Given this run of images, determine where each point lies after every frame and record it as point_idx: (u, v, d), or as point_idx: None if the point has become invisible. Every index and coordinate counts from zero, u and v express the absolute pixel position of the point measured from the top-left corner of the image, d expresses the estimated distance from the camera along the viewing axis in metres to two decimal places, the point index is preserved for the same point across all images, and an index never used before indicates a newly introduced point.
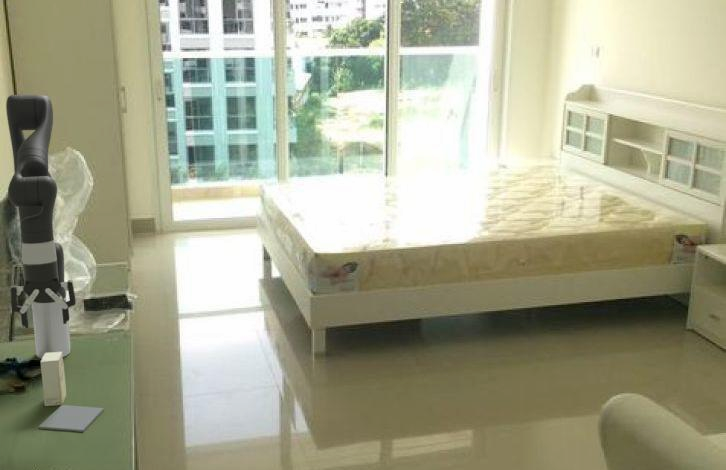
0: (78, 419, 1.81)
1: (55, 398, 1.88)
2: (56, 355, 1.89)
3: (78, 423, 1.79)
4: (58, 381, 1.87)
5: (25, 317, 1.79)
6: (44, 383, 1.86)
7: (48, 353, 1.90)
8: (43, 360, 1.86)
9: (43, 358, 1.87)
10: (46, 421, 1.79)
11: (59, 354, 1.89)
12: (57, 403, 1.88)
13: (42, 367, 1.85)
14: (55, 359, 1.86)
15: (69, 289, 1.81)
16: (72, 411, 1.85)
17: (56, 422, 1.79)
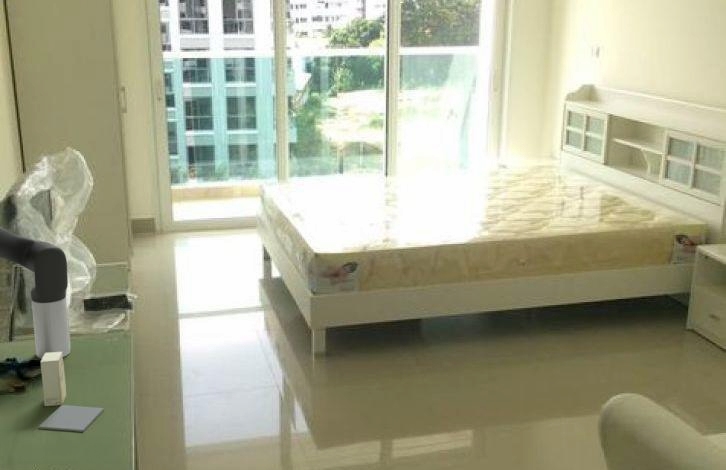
0: (78, 419, 1.81)
1: (55, 398, 1.88)
2: (56, 355, 1.89)
3: (78, 423, 1.79)
4: (58, 381, 1.87)
5: None
6: (44, 383, 1.86)
7: (48, 353, 1.90)
8: (43, 360, 1.86)
9: (43, 358, 1.87)
10: (46, 421, 1.79)
11: (59, 354, 1.89)
12: (57, 403, 1.88)
13: (42, 367, 1.85)
14: (55, 359, 1.86)
15: None
16: (72, 411, 1.85)
17: (56, 422, 1.79)
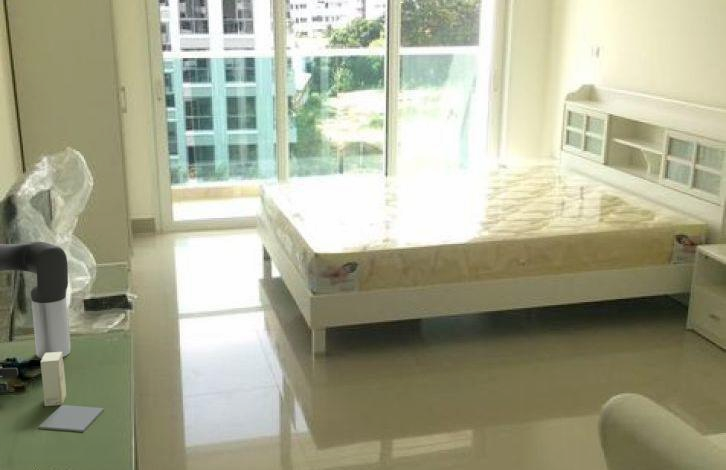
0: (78, 419, 1.81)
1: (55, 398, 1.88)
2: (56, 355, 1.89)
3: (78, 423, 1.79)
4: (58, 381, 1.87)
5: None
6: (44, 383, 1.86)
7: (48, 353, 1.90)
8: (43, 360, 1.86)
9: (43, 358, 1.87)
10: (46, 421, 1.79)
11: (59, 354, 1.89)
12: (57, 403, 1.88)
13: (42, 367, 1.85)
14: (55, 359, 1.86)
15: None
16: (72, 411, 1.85)
17: (56, 422, 1.79)
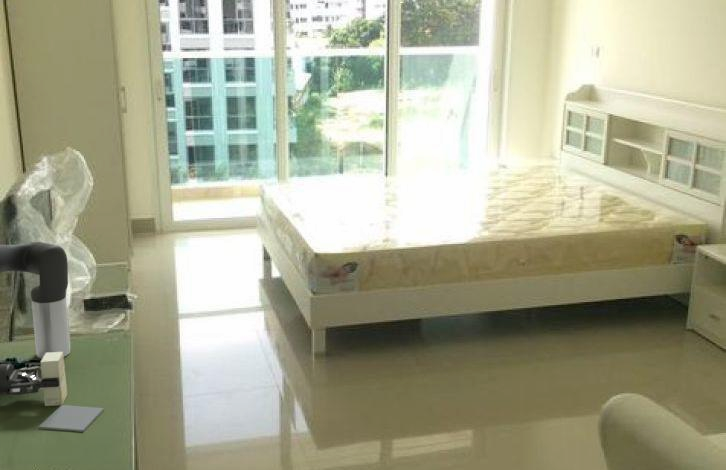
0: (78, 419, 1.81)
1: (55, 398, 1.87)
2: (56, 355, 1.89)
3: (78, 423, 1.79)
4: None
5: None
6: None
7: (49, 353, 1.90)
8: (43, 360, 1.85)
9: (43, 358, 1.87)
10: (46, 421, 1.79)
11: (59, 354, 1.89)
12: (57, 403, 1.88)
13: (42, 367, 1.85)
14: (55, 359, 1.86)
15: None
16: (72, 411, 1.85)
17: (56, 422, 1.79)
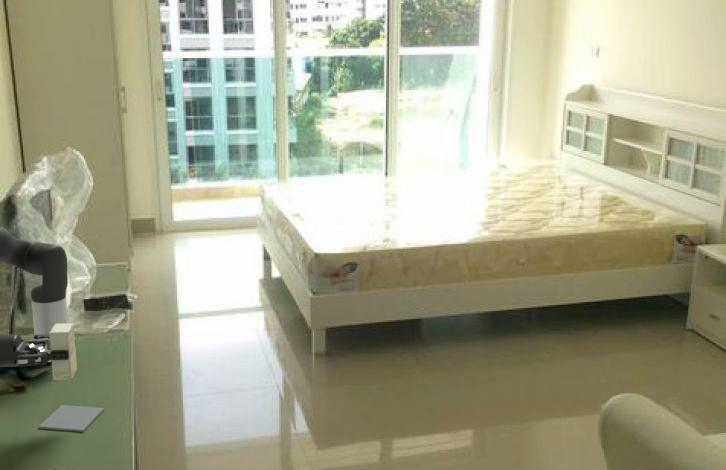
0: (78, 419, 1.81)
1: (64, 371, 1.77)
2: (66, 326, 1.78)
3: (78, 423, 1.79)
4: None
5: None
6: None
7: (58, 324, 1.79)
8: (52, 331, 1.75)
9: (53, 329, 1.76)
10: (46, 421, 1.79)
11: (70, 326, 1.78)
12: (66, 377, 1.77)
13: (51, 338, 1.74)
14: (65, 331, 1.75)
15: None
16: (72, 411, 1.85)
17: (56, 422, 1.79)
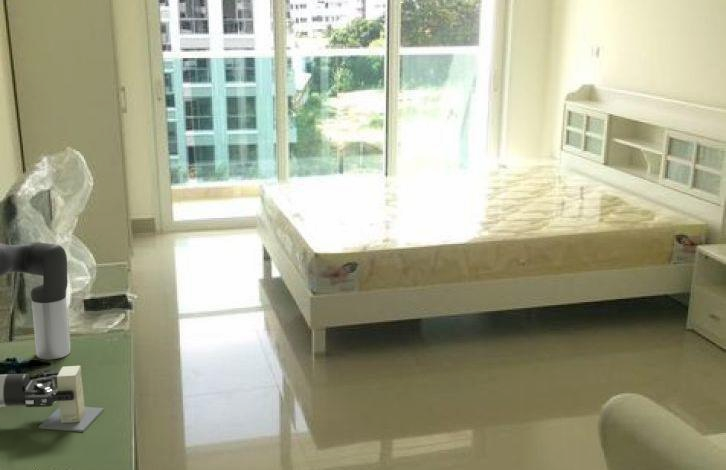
0: None
1: (72, 414, 1.78)
2: (73, 369, 1.80)
3: (78, 423, 1.79)
4: (75, 397, 1.78)
5: None
6: None
7: (66, 367, 1.81)
8: (60, 375, 1.77)
9: (60, 372, 1.78)
10: (46, 421, 1.79)
11: (77, 368, 1.80)
12: (74, 420, 1.79)
13: (58, 382, 1.76)
14: (72, 374, 1.77)
15: None
16: None
17: (56, 422, 1.79)
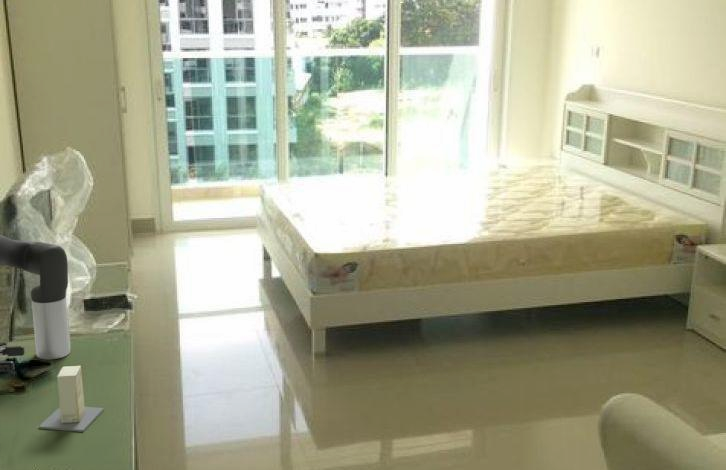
0: None
1: (72, 414, 1.78)
2: (74, 369, 1.80)
3: (78, 423, 1.79)
4: (75, 397, 1.78)
5: None
6: (61, 399, 1.77)
7: (66, 367, 1.81)
8: (60, 375, 1.77)
9: (60, 372, 1.78)
10: (46, 421, 1.79)
11: (77, 368, 1.80)
12: (74, 420, 1.79)
13: (59, 382, 1.76)
14: (72, 374, 1.77)
15: None
16: None
17: (56, 422, 1.79)
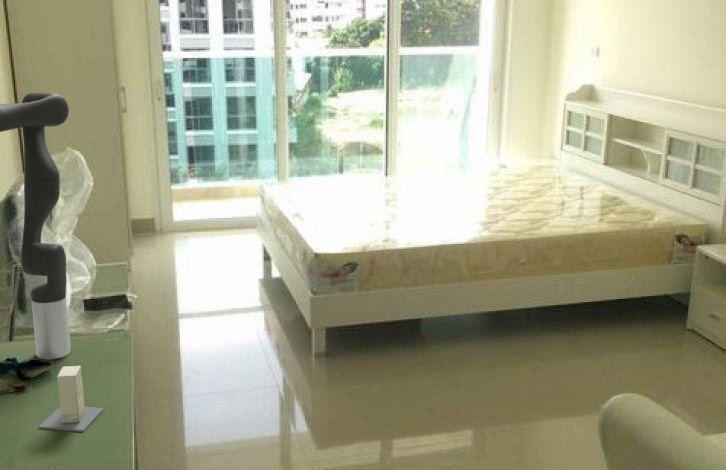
0: None
1: (72, 414, 1.78)
2: (74, 369, 1.80)
3: (78, 423, 1.79)
4: (75, 397, 1.78)
5: None
6: (61, 399, 1.77)
7: (66, 367, 1.81)
8: (60, 375, 1.77)
9: (60, 372, 1.78)
10: (46, 421, 1.79)
11: (77, 368, 1.80)
12: (74, 420, 1.79)
13: (59, 382, 1.76)
14: (72, 374, 1.77)
15: None
16: None
17: (56, 422, 1.79)
